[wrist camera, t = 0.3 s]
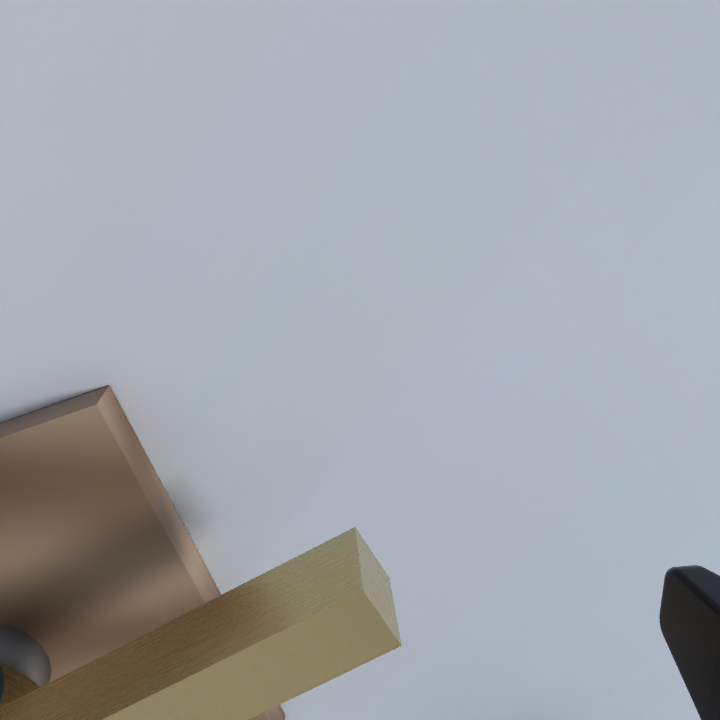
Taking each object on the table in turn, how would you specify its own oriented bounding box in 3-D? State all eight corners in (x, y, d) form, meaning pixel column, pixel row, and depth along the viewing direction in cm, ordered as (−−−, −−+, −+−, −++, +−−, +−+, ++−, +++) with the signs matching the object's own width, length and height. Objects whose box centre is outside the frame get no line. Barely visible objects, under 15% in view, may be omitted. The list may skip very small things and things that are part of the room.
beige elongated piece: (-53, 823, 23) (-122, 964, 19) (-197, 708, 20) (-308, 843, 17) (415, 594, 21) (440, 701, 17) (313, 438, 19) (316, 523, 15)
